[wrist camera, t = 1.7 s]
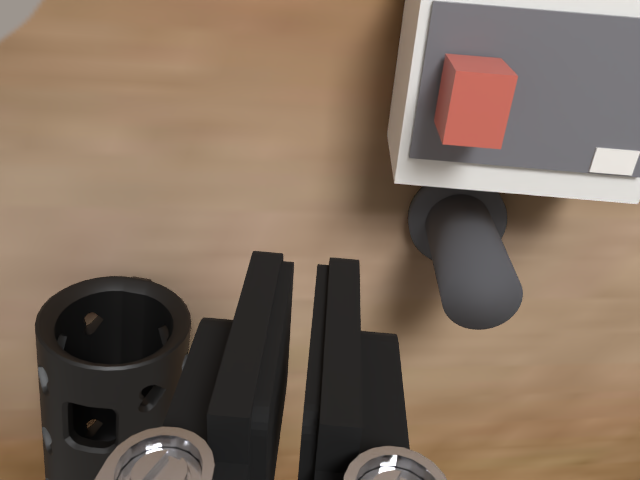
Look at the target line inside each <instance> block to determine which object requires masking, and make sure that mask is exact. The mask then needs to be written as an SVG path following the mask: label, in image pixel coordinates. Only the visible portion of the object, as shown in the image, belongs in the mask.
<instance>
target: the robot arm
mask: <svg viewBox="0 0 640 480" xmlns="http://www.w3.org/2000/svg"><path fill="white" fill-rule="evenodd" d="M293 273H294V262H285V261H283V253H272V252H260V251H253V253H252V256H251V260H250V263H249V267H248V270H247V274H246V277H245V281H244V284H243V288H242V292H241V295H240V299H239V302H238V306H237V309H236V313H235V316H234V320H227V319H215V318H203V319H201V322H200V324H199V326H198V329H197V332H196V334H195V337H194V340H193V343H192V345H191V348H190V351H189V354H188V356H187V359H186V362H185V365H184V368H183V370H182V373H181V376H180V379H179V381H178V384H177V387H176V390H175V392H174V395H173V398H172V401H171V403H170V406H169V409H168V412H167V414H166V417H165V420H164V423H163V425H162V427H158V428H152V429H147V430H145V431H142V432H140V433H137V434H135V435H132V436H131V437H129V438H128V439H126V440H125V441H124V442H122V443H121V444H120V445H118V446H117V447H116V448H115V450H114V451H113V452H112V453H111V454H110V456H109V457H108V458H107V460H106V461H105V463H104V465H103V466H102V468H101V470H100V471H99V473H98V475H97V476H96V478H95V480H274V476H275V468H276V461H277V453H278V446H279V439H280V431H281V424H282V417H283V409H284V402H285V394H286V386H287V375H288V359H289V342H290V324H291V307H292V290H293ZM298 480H447V479H446V477H445V475H444V474H443V473H442V472H441V470H440V469H439V468H438V467H437V466H436V465H435V464H434V463H433V462H432V461H430V460H429V459H427V458H426V457H424V456H423V455H421V454H420V453H417V452H415V451H412V450H410V448H409V439H408V429H407V419H406V410H405V400H404V391H403V381H402V372H401V362H400V352H399V343H398V337H397V335H396V334H389V333H378V332H366V331H361V318H360V267H359V260H353V259H342V258H330V261H329V265H320V264H318V266H317V276H316V287H315V297H314V308H313V318H312V328H311V339H310V349H309V360H308V370H307V381H306V391H305V402H304V412H303V424H302V435H301V448H300V461H299V473H298Z"/></svg>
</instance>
